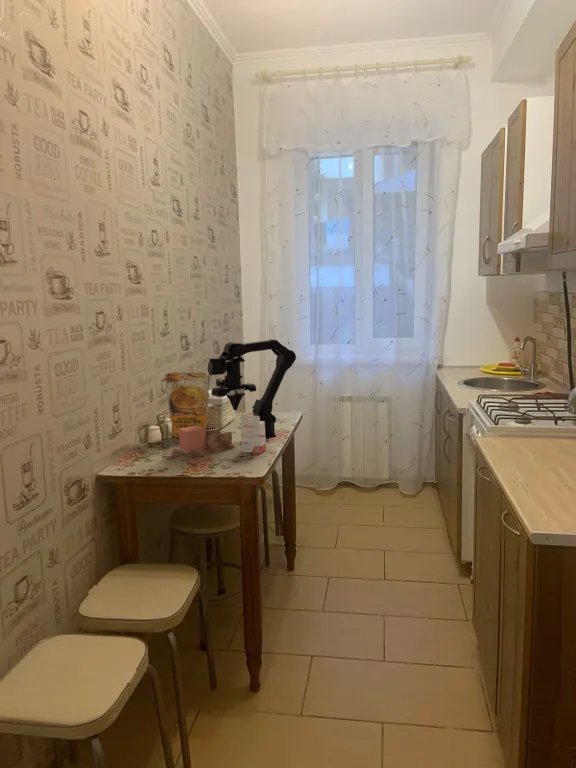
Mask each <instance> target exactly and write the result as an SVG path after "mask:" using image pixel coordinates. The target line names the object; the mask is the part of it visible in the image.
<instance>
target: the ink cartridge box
mask: <svg viewBox="0 0 576 768" xmlns="http://www.w3.org/2000/svg"><path fill="white" fill-rule="evenodd" d="M249 419H251V420H249ZM240 433H241V434H240V435H241V436H240V437H241V451H242V453H250V452H251V453H252V454H262V453H264V452H266V451H267V443H266V442H267V440H266V438H267V437H266V438H265V421H260V417H259V416H254V415H243V414H242V415H241V416H240Z"/></svg>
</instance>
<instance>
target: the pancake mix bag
mask: <svg viewBox="0 0 576 768" xmlns="http://www.w3.org/2000/svg"><path fill="white" fill-rule="evenodd" d="M164 380H165V388H166V395H167V403H168V409H169V418H170V423H171V422H172V436H174V437H173V438H174V439H179V429H181V428H186V427H191V426H196V425H197V426H200V427H203V428H206V424H207V411H208V399H209V390H210V375H209V374H207V372H172V373H171V372H169V373H166V374H165V375H164ZM206 429H207V428H206Z"/></svg>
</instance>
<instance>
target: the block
mask: <svg viewBox="0 0 576 768" xmlns="http://www.w3.org/2000/svg"><path fill="white" fill-rule="evenodd" d="M206 430H207V428H203V427H200V426H197V425H196V426H191V427H186V428H181V429H179V438H178V439H179V447H180V449H182V450H185V451H187V452H191V451H196V450H200V449H205V448H206Z"/></svg>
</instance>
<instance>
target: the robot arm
mask: <svg viewBox="0 0 576 768" xmlns="http://www.w3.org/2000/svg"><path fill="white" fill-rule="evenodd" d="M268 350H269V351H270V350H271V351H272V353H273V354H274V355H276V359H275V369H274V370H273V372H272V375H271V377H270V379H269V381H268V383H267V386H266V388H265V391H264V393H263V395H262V397H261V398H260V399H257V398H256V399H255V402H254V405H253V406H252V416H259V417H260V421H265V438H271V437H276V436H277V434H276V432H275V431H276V429H275V424H276V421H277V417H276V416H275V415H274V414H272V411H273V402H274V399H275V397H276V395H277V392H278V390H279V389H280V385H281V383H282V381H283V379H284V377H285V374H286V372H287V371H288V370H289V369H290V368H291V367H292V366H293V364H294V363H295V361H296V359H297V355H296V353H295V352H294V351H293V350H291V349H288V347H286V346H284V345H283V344H281V343H280V342H279V341H278V340H277V339H273V338H272V339H271V338H270V339H267V340H262V341H261V340H259V341H254V342H253V341H252V342H245V343H244V342H227V343H226V344H224V347H223V351H222V352H221V354H220V355H219V357H217V358H215V357H214V358H211V357H210V358H209V359H208V363H207V364H208V365H207V372H208V375H209V376H218V375H224V374H225V373H226V375H224V379H222V378H221V377H220V378H216V379H215V386H216V387H214V388H212V389H211V390H212V395H214V396H217V398H222V397H225V396H227V397H228V398H229V400H230V402H231V405H232V407H233V410H236V411H237V410H238V408H239V405H240V404H241V402H242V401H241V400H242V399H243V397H244V396H246V393H245V392H244V391H249V392H250V393H253V392H256V391H257V386H256V384H254V383H250V382H249V383H242V379H243V375H242V373H241V362H242V363H244V362H246V360H245V359H244V358H243V357H242V356H243V355H246V354H249V353H253V352H254V353H255V352H260V351H261V352H262V351H268Z"/></svg>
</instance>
